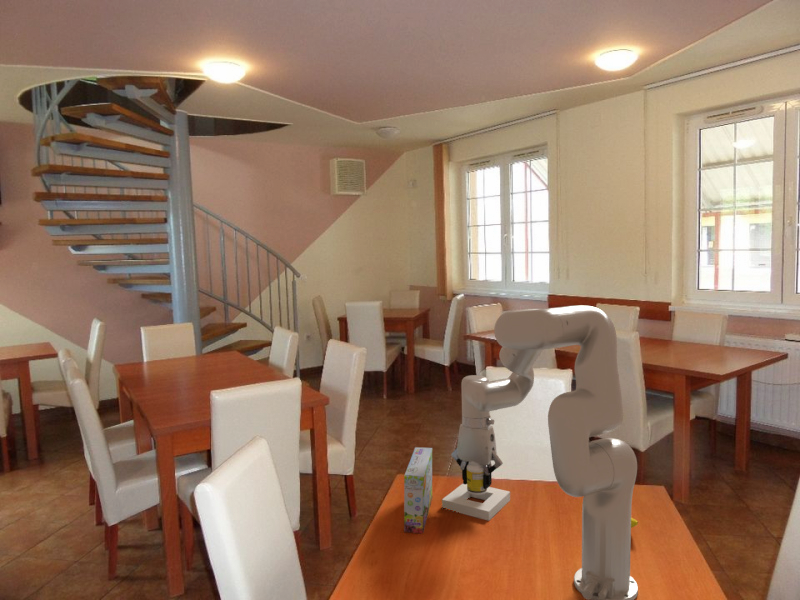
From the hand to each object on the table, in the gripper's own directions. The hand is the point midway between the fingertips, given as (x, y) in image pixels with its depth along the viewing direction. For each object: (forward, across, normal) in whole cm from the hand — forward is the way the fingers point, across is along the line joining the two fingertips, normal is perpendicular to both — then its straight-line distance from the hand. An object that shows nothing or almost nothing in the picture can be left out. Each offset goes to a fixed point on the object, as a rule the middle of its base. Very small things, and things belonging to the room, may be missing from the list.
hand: (476, 484), depth 160 cm
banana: (+6, -36, -9) cm, 37 cm away
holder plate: (+6, 0, 0) cm, 6 cm away
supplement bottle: (+2, 0, 0) cm, 2 cm away
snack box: (+6, +11, +13) cm, 18 cm away
